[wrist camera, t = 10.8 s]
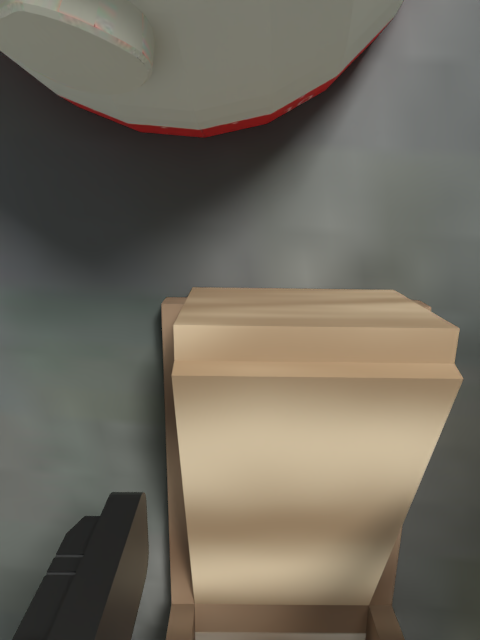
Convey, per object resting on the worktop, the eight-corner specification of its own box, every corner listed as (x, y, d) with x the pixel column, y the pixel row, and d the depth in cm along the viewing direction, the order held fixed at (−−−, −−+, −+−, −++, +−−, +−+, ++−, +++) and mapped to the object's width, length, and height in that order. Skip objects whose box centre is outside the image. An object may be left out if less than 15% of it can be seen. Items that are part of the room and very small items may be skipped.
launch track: (173, 277, 17) (105, 360, 8) (400, 280, 17) (571, 366, 8) (184, 680, 22) (150, 984, 13) (356, 681, 22) (430, 984, 14)
